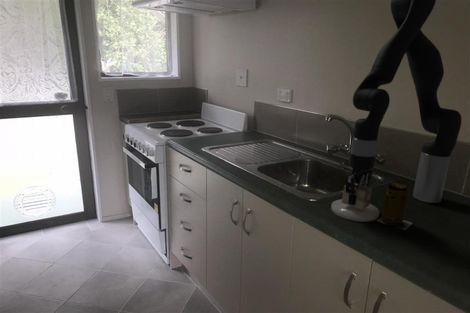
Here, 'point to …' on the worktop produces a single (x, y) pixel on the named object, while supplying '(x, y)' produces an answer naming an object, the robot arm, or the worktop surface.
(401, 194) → the condiment
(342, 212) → the dish
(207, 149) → the worktop surface
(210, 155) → the worktop surface
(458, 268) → the worktop surface
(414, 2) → the robot arm
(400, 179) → the worktop surface
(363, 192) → the block
